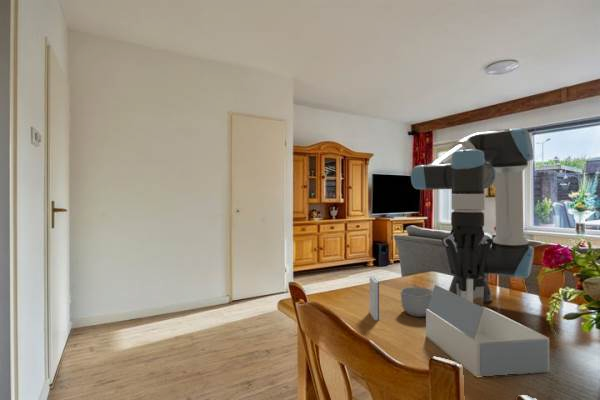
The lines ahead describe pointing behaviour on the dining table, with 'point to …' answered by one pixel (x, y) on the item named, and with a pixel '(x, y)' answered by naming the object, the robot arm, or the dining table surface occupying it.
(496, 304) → the dining table surface
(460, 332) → the carton
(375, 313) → the hard drive
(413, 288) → the teacup
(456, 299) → the flap
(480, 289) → the coffee cup
